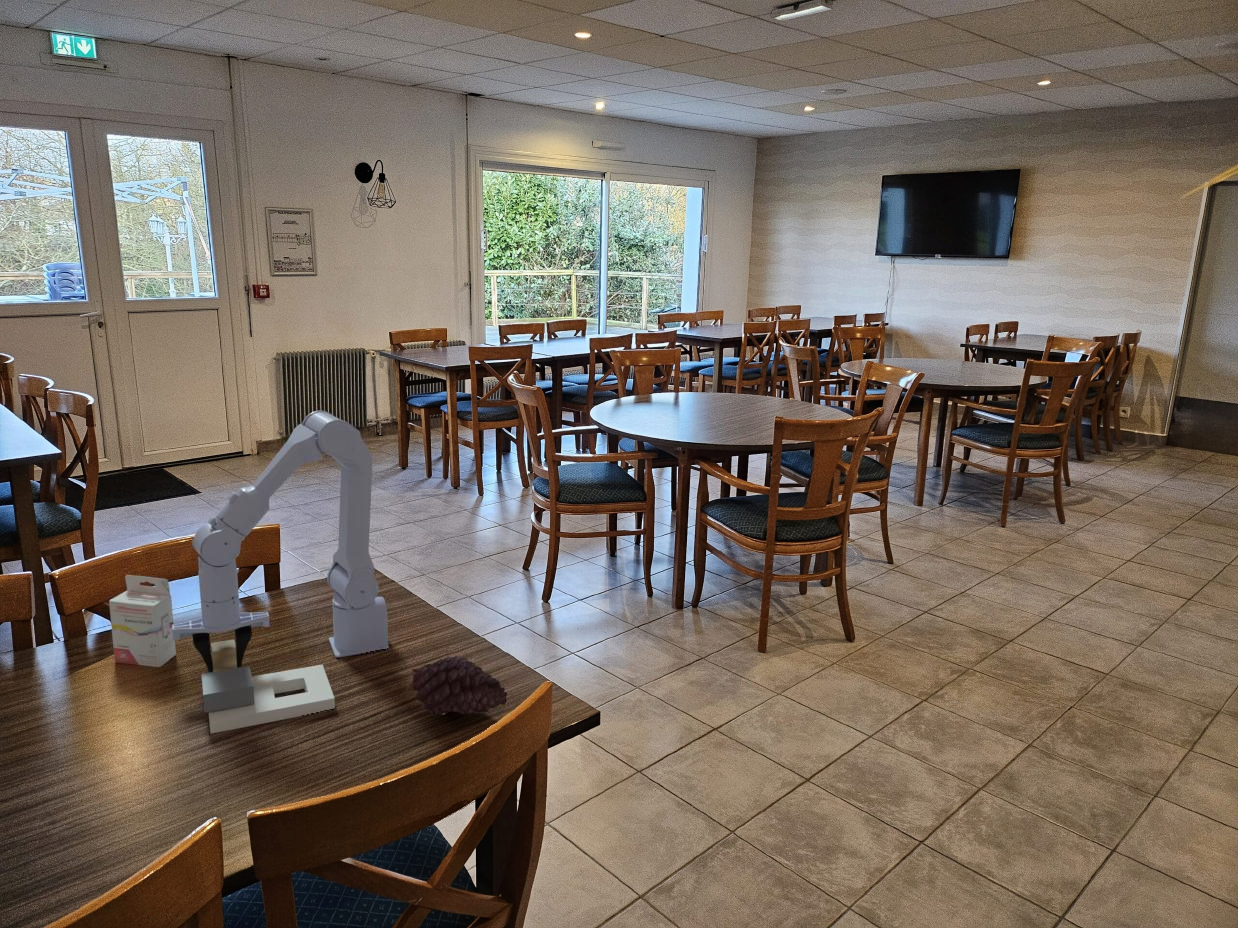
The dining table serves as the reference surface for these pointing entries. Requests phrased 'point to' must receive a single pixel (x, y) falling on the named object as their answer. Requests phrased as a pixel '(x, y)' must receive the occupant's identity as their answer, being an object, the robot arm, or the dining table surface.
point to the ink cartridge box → (143, 623)
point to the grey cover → (227, 688)
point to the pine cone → (456, 687)
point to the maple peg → (223, 655)
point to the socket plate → (278, 699)
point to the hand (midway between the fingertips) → (225, 670)
